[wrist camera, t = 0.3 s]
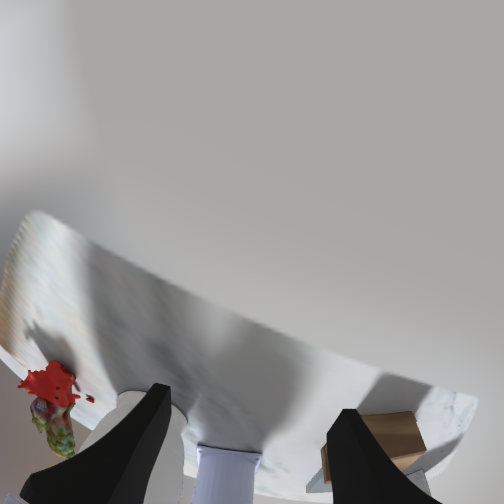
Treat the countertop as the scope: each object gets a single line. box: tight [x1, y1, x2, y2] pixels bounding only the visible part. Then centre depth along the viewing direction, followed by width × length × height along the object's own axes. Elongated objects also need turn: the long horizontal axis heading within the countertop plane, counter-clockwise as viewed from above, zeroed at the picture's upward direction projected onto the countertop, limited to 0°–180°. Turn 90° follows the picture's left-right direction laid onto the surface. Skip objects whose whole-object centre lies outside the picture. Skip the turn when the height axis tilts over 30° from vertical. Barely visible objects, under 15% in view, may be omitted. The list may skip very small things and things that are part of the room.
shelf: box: [321, 411, 427, 484], centre depth 23 cm, size 8×10×6 cm
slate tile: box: [306, 467, 333, 493], centre depth 29 cm, size 12×6×2 cm, turn 172°
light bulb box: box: [406, 469, 431, 496], centre depth 28 cm, size 11×7×11 cm, turn 106°
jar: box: [78, 391, 188, 504], centre depth 19 cm, size 11×10×15 cm
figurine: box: [18, 361, 94, 459], centre depth 22 cm, size 8×10×12 cm
